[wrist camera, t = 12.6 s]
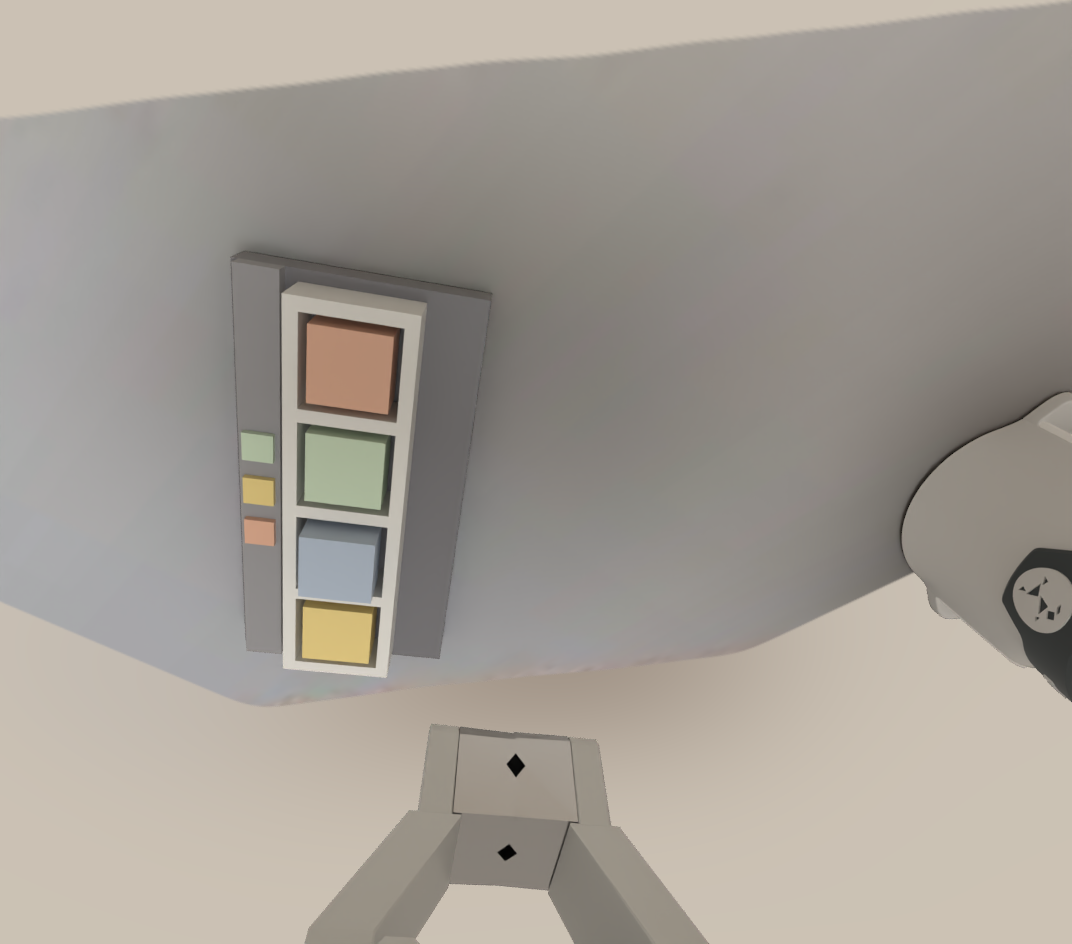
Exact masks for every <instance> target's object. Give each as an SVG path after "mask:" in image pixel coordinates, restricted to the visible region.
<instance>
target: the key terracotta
mask: <svg viewBox="0 0 1072 944" xmlns="http://www.w3.org/2000/svg"><path fill="white" fill-rule="evenodd" d="M399 336H400V328H397V327H391V326H385V325H379V324H372V323H366V322H360V321H354V320H347V319H341V318H335V317H329V316H323V315H315V316H314V317H313V318H312V319H311V320H310V321H309V322H308V323H307V355H306V403H309V404H316V405H323V406H331V407H338V408H345V409H352V410H359V411H366V412H373V413H380V414H387V415H388V413H389V410H390V408H391V406H392V403H393V401H394V397H395V385H396V373H397V361H398V348H399Z"/></svg>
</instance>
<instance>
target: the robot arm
mask: <svg viewBox="0 0 1072 944" xmlns="http://www.w3.org/2000/svg"><path fill="white" fill-rule="evenodd" d="M902 547H903V552H904V556H905V558H906V561H907V563H908V564H909V566H910V568H911V569H912V570H913V571H914V573H915V574H916V575H917V576H918V577H920V579H921V580H922V581H923V582H924V583H925V585H926V587H927V594H928V600H929V604H930V606H931V608H932V609H933V610H934V611H935V612H936V613H937V614H939V615H940V616H941V617H943V618H945V619H958V618H959V619H962V620H963V621H964V622H965V623H966V624H967V625H968V626H970V627H971V628H972V629H973V630H974V631H975V632H976V633H978V634H979V635H980V636H981V637H982V638H984V639H985V640H986V641H987V642H988V643H989V644H991V645H992V646H993V647H994V648H996V650H997V651H999V652H1000V653H1001V654H1002V655H1003V656H1005V657H1006V658H1007V659H1008V660H1009V661H1011V662H1012V663H1014V664H1015V665H1017V666H1019V667H1022V668H1025V667H1031V668H1036V669H1037V670H1038V671H1039V672H1040V673H1041V674H1042V675H1043V677H1044V678H1045V679H1046V680H1047V682H1048V683H1049V684H1050V685H1051V686H1052V687H1053V688H1054V689H1055V690H1056V691H1057V692H1058V693H1060V694H1061V695H1062V696H1063V697H1065V698H1068V699H1069V700H1070V701H1071V702H1072V393H1070V392H1065V393H1061V394H1058V395H1056V396H1054V397H1052V398H1051V399H1049V400H1047V401H1046V402H1044V403H1043V404H1042V405H1040V406H1039V407H1038V408H1036V409H1035V410H1033V411H1032V412H1031V413H1030V414H1028V415H1027V416H1026V417H1024V418H1023V419H1021V420H1019V421H1017V422H1015V423H1013V424H1011V425H1009V426H1006V427H1003V428H1001V429H998V430H995V431H993V432H990V433H988V434H986V435H983V436H981V437H979V438H977V439H975V440H974V441H972V442H970V443H968V444H967V445H965V446H964V447H962V448H960V449H959V450H958V451H956V452H955V453H953V454H952V455H951V456H950V457H948V458H947V459H946V460H945V461H944V462H942V463H941V464H940V465H939V466H938V467H937V468H936V469H935V470H934V471H933V472H932V473H931V474H930V476H929V477H928V478H927V479H926V480H925V482H924V483H923V484H922V486H921V487H920V488H919V490H918V491H917V493H916V494H915V496H914V498H913V500H912V502H911V504H910V506H909V508H908V511H907V513H906V516H905V519H904V524H903V529H902ZM449 884H467V885H496V886H507V887H518V888H528V889H539V890H549V892H548V894H549V896H550V898H551V900H552V902H553V904H554V906H555V907H556V909H557V911H558V913H559V915H560V917H561V919H562V921H563V923H564V925H565V927H566V928H567V930H568V932H569V934H570V936H571V938H572V940H573V942H574V944H709V943H708V942H707V940H706V939H705V938H704V937H703V935H702V934H701V933H700V931H699V930H698V929H697V927H696V926H695V925H694V924H693V922H692V921H691V920H690V918H689V917H688V916H687V914H686V913H685V912H684V911H683V909H682V908H681V907H680V905H679V904H678V903H677V901H676V900H675V899H674V898H673V896H672V895H671V894H670V893H669V891H668V890H667V888H666V887H665V886H664V884H663V883H662V882H661V880H660V879H659V878H658V877H657V875H656V874H655V873H654V871H653V870H652V869H651V868H650V866H649V865H648V864H647V862H646V861H645V860H644V858H643V857H642V856H641V854H640V853H639V852H638V851H637V849H636V848H635V847H634V845H633V844H632V843H631V841H630V840H629V839H628V837H627V836H626V835H625V834H624V832H623V831H622V830H621V828H620V827H615V826H611V822H610V816H609V809H608V802H607V795H606V789H605V782H604V775H603V769H602V763H601V756H600V750H599V744H598V743H597V741H596V740H594V739H583V738H573V737H569V738H568V737H567V736H555V735H542V734H530V733H517V732H514V733H508V732H499V731H490V730H483V729H474V728H466V727H460V728H459V727H457V726H456V727H455V726H447V725H437V724H431V726H430V730H429V735H428V742H427V750H426V757H425V763H424V771H423V778H422V785H421V792H420V800H419V806H418V811H408V813H407V814H406V815H405V816H404V817H403V818H402V820H401V821H400V822H399V823H398V824H397V825H396V827H395V828H394V829H393V830H392V831H391V832H390V834H389V835H388V836H387V837H386V838H385V839H384V841H383V842H382V843H381V844H380V845H379V846H378V848H377V849H376V850H375V851H374V852H373V854H372V855H371V856H370V857H369V858H368V859H367V861H366V862H365V863H364V864H363V865H362V866H361V868H360V869H359V870H358V871H357V872H356V873H355V875H354V876H353V877H352V878H351V879H350V881H349V882H348V883H347V884H346V885H345V886H344V887H343V889H342V890H341V891H340V892H339V893H338V895H337V896H336V897H335V898H334V899H333V900H332V902H331V903H330V904H329V905H328V906H327V907H326V909H325V910H324V911H323V912H322V913H321V915H320V916H319V917H318V918H317V919H316V920H315V921H314V923H313V924H312V925H311V926H310V927H309V929H308V933H307V937H306V941H305V944H419V943H418V942H417V940H416V937H417V936H418V934H419V933H420V931H421V929H422V928H423V926H424V925H425V923H426V921H427V920H428V918H429V917H430V915H431V914H432V912H433V911H434V909H435V907H436V906H437V904H438V903H439V901H440V900H441V898H442V897H443V895H444V893H445V892H446V890H447V889H448V886H449Z"/></svg>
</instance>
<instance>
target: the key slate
mask: <svg viewBox="0 0 1072 944" xmlns="http://www.w3.org/2000/svg"><path fill="white" fill-rule="evenodd" d="M381 530H382V527H376V526H368V525H360V524H351V523H343V522H335V521H326V520H318V519H310V518H308V520H307V521H306V523H305V525H304V527H303V529H302V531H301V533H300V535H299V558H298V596H301V597H310V598H320V599H329V600H339V601H349V602H358V603H368V604H371V601H372V598H373V594H374V590H375V587H376V583H377V580H378V568H379V555H380V543H381Z"/></svg>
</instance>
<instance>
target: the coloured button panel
mask: <svg viewBox="0 0 1072 944" xmlns="http://www.w3.org/2000/svg"><path fill="white" fill-rule="evenodd" d="M231 279H232V305H233V330H234V356H235V381H236V407H237V432H238V458H239V483H240V509H241V535H242V560H243V586H244V611H245V637H246V650H247V651H253V652H264V653H275V654H282V652H283V668H284V669H295V670H306V671H317V672H328V673H339V674H350V675H361V676H372V677H383V678H387V674H388V669H389V664H390V659H391V655H392V654H393V655H404V656H414V657H425V658H435V659H439V658H440V651H441V644H442V637H443V631H444V624H445V617H446V610H447V603H448V596H449V589H450V582H451V575H452V569H453V562H454V555H455V548H456V541H457V534H458V527H459V520H460V513H461V506H462V500H463V493H464V486H465V479H466V472H467V465H468V458H469V451H470V444H471V438H472V431H473V424H474V417H475V410H476V403H477V396H478V389H479V382H480V376H481V369H482V362H483V355H484V348H485V341H486V334H487V327H488V320H489V313H490V307H491V297H492V293H487V292H481V291H475V290H469V289H463V288H458V287H452V286H446V285H440V284H434V283H428V282H422V281H416V280H411V279H405V278H399V277H393V276H387V275H381V274H375V273H369V272H364V271H358V270H352V269H346V268H340V267H334V266H328V265H322V264H317V263H311V262H305V261H299V260H293V259H287V258H281V257H275V256H270V255H264V254H258V253H252V252H246V251H243V252H241V253H239V254H236V255H234V256H232V257H231ZM315 315H323V316H329V317H335V318H341V319H347V320H354V321H360V322H366V323H372V324H379V325H385V326H391V327H397V328H400V336H399V348H398V361H397V373H396V385H395V397H394V401H393V403H392V406H391V408H390V410H389V413H388V415H387V414H380V413H373V412H366V411H359V410H352V409H345V408H338V407H331V406H323V405H316V404H309V403H306V355H307V323H308V322H309V321H310V320H311V319H312V318H313V317H314V316H315ZM311 424H312V425H320V426H327V427H334V428H341V429H348V430H356V431H363V432H370V433H377V434H385V435H391V446H390V458H389V471H388V483H387V491H386V494H385V497H384V500H383V503H382V507H381V510H376V509H368V508H360V507H352V506H344V505H336V504H328V503H319V502H311V501H304V495H305V433H306V431H307V430H308V428H309V427H310V425H311ZM308 518H310V519H318V520H326V521H335V522H343V523H351V524H360V525H368V526H376V527H382V530H381V543H380V555H379V568H378V580H377V583H376V587H375V590H374V594H373V598H372V601H371V604H368V603H358V602H349V601H339V600H329V599H320V598H310V597H301V596H298V558H299V535H300V533H301V531H302V529H303V527H304V525H305V523H306V521H307V520H308ZM306 600H315V601H325V602H335V603H344V604H354V605H363V606H373V607H377V617H376V629H375V640H374V644H373V648H372V652H371V656H370V660H369V664H363V663H352V662H342V661H331V660H320V659H309V658H302V634H303V606H304V603H305V601H306Z"/></svg>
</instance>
